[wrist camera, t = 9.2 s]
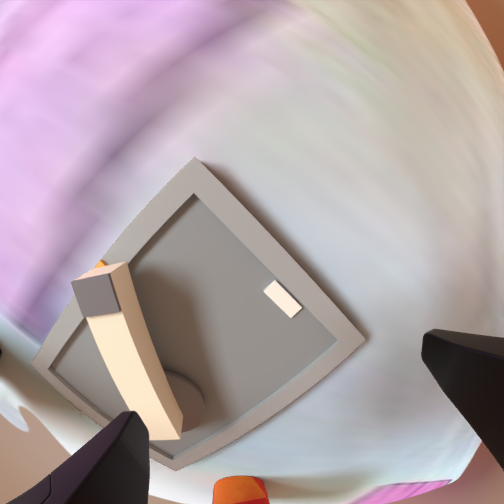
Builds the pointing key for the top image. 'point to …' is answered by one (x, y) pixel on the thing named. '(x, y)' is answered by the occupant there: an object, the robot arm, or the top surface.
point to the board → (207, 318)
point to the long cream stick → (136, 354)
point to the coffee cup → (240, 491)
